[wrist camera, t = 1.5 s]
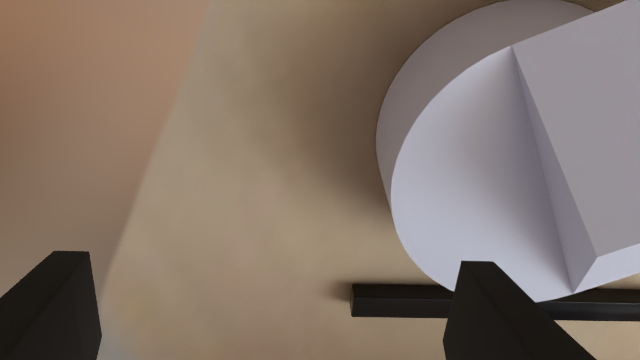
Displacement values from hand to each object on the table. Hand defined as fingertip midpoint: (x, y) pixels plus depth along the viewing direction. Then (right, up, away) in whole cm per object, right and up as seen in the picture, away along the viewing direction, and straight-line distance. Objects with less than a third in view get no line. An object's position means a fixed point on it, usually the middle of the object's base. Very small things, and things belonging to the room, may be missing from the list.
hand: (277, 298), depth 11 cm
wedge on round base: (+9, +5, +9) cm, 14 cm away
